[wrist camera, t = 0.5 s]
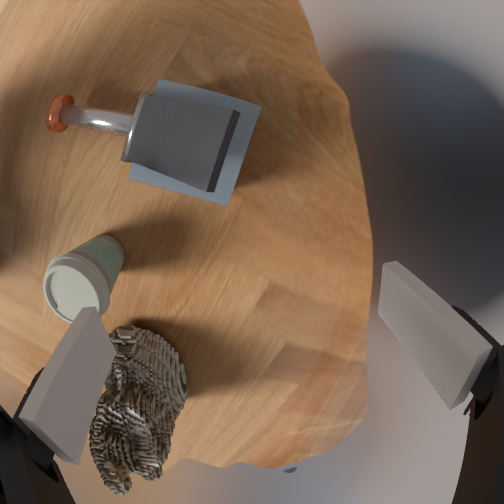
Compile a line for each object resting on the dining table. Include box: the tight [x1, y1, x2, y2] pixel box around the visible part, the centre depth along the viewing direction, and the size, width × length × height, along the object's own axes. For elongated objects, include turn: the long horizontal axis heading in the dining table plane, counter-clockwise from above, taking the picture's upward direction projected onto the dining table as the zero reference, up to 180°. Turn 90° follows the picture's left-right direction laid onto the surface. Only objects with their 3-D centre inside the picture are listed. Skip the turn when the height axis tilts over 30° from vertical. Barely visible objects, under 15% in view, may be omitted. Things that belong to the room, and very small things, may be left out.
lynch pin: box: [46, 95, 133, 136], centre depth 26 cm, size 15×5×5 cm, turn 72°
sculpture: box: [89, 326, 187, 495], centre depth 33 cm, size 20×14×25 cm
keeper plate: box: [121, 93, 241, 192], centre depth 20 cm, size 11×6×1 cm
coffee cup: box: [43, 235, 124, 324], centre depth 31 cm, size 8×9×12 cm
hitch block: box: [129, 79, 262, 206], centre depth 28 cm, size 10×10×9 cm
